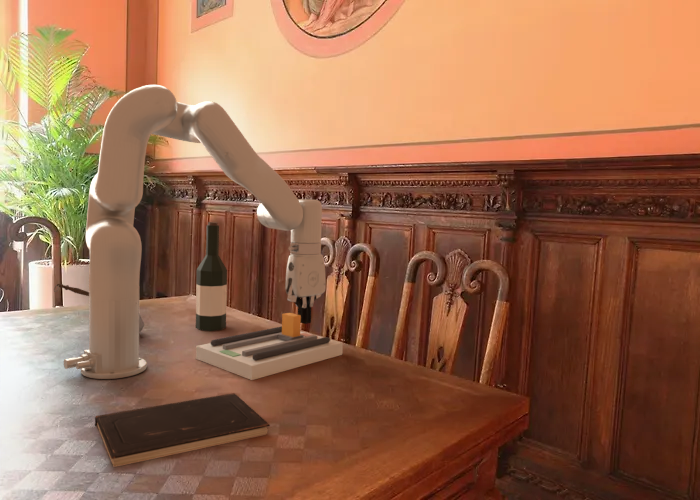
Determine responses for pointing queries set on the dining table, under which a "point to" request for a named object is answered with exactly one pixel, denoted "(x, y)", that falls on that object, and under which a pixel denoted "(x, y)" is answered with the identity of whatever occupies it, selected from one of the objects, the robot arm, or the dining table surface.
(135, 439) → the hardcover book
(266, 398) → the dining table surface
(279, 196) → the robot arm
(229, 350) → the slider track board
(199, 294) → the wine bottle
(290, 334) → the handle
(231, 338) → the dressed cords
